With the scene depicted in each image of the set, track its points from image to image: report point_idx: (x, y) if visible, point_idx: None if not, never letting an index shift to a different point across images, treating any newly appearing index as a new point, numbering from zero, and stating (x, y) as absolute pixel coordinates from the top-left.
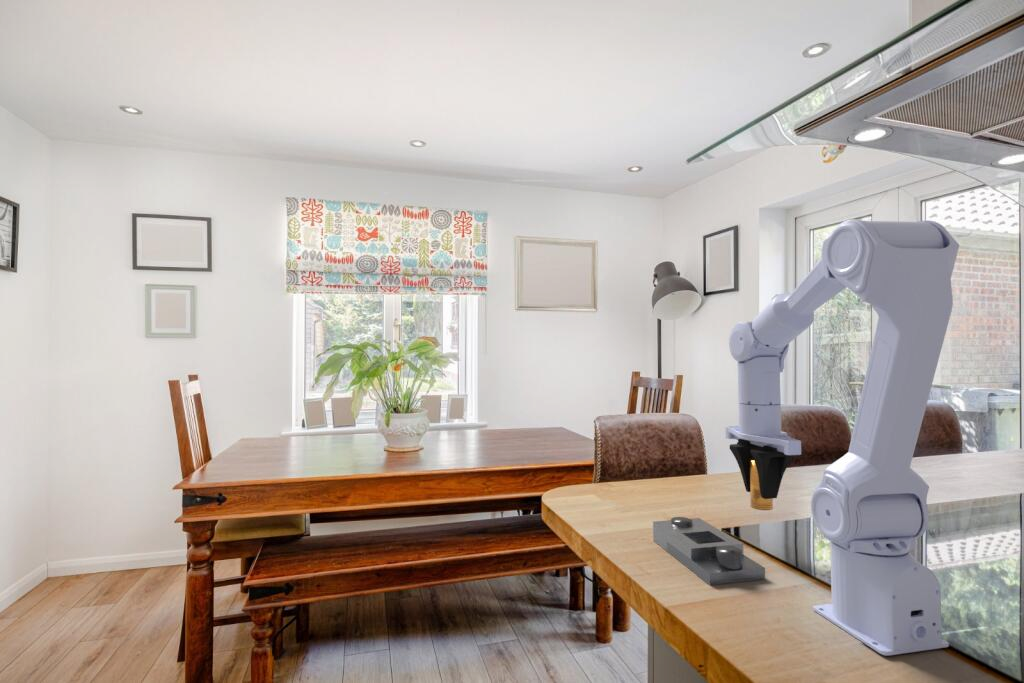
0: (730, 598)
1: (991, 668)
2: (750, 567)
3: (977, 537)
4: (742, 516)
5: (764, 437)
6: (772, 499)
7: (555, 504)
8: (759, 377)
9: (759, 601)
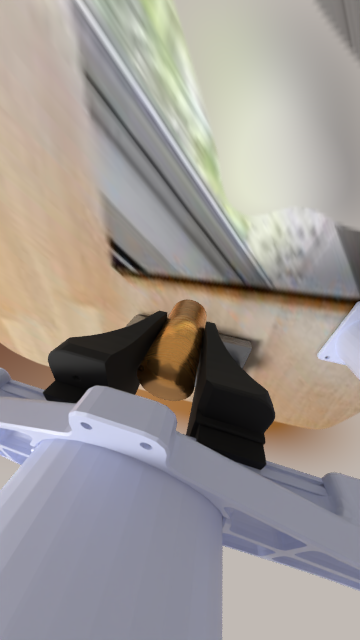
0: None
1: None
2: (243, 357)
3: None
4: (66, 190)
5: (227, 546)
6: (202, 317)
7: (39, 361)
8: None
9: (272, 371)
